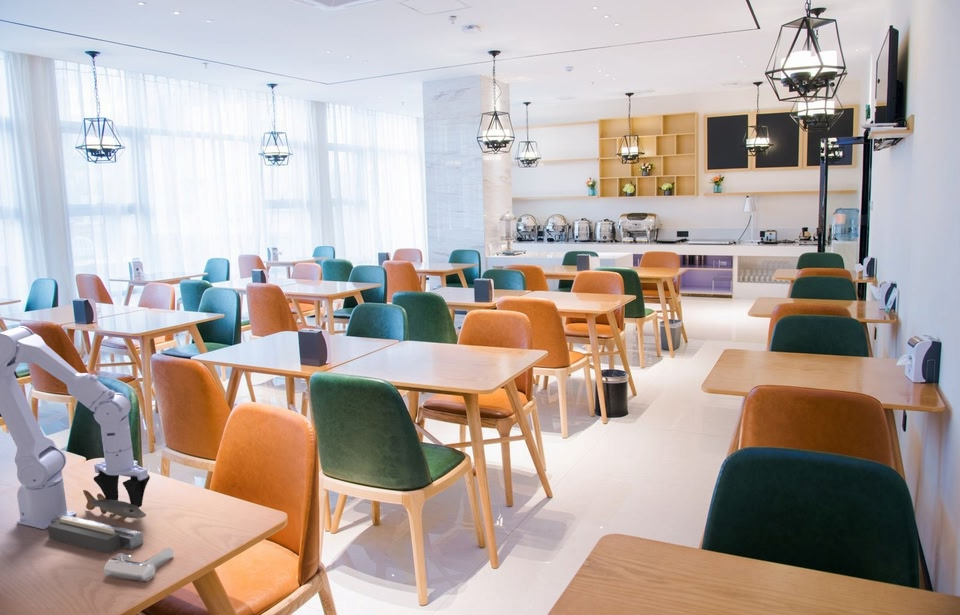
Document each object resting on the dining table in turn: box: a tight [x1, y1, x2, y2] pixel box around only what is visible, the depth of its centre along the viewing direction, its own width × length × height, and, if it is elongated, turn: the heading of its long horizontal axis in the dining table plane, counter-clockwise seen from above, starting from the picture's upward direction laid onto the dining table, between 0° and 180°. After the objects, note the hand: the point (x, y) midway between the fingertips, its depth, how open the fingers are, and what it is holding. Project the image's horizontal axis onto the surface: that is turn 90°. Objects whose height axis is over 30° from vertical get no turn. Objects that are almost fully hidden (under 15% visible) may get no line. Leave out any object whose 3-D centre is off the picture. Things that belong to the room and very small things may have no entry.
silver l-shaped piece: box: [103, 547, 175, 582], centre depth 136 cm, size 10×4×9 cm
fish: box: [82, 489, 147, 523], centre depth 157 cm, size 4×21×5 cm, turn 63°
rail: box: [51, 514, 144, 551], centre depth 149 cm, size 24×3×3 cm, turn 66°
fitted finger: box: [47, 518, 122, 555], centre depth 146 cm, size 18×3×4 cm, turn 66°
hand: (125, 505), depth 159 cm, fingers open, 7 cm apart
